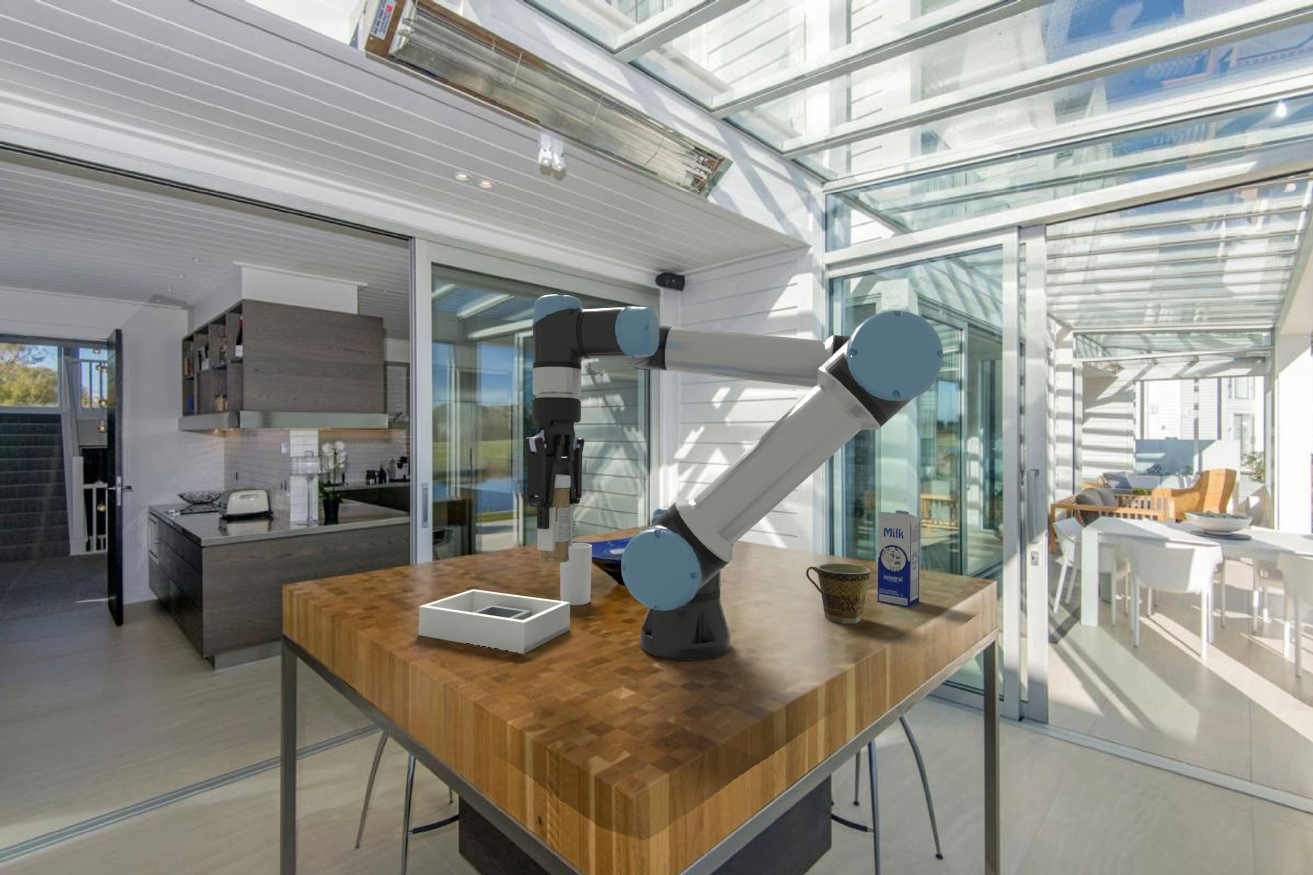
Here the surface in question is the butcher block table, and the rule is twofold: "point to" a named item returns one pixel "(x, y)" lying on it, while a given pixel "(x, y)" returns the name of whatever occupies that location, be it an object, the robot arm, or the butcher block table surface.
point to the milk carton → (898, 558)
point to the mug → (576, 575)
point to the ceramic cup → (842, 590)
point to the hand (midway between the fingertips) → (555, 547)
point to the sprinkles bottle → (560, 522)
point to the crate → (495, 620)
